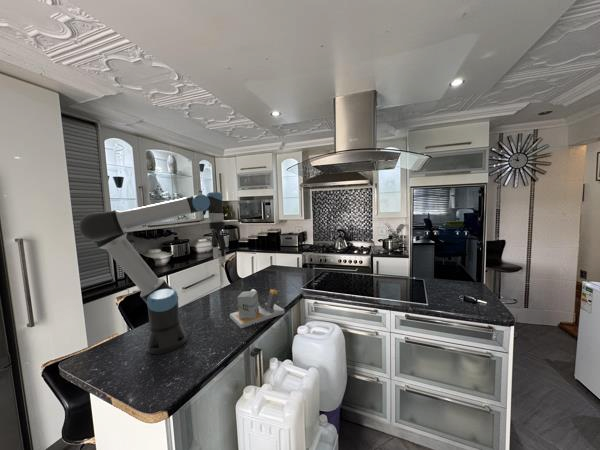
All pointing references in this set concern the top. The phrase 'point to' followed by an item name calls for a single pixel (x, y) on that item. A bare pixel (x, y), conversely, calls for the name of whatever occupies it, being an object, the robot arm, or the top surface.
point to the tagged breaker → (271, 299)
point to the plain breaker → (259, 299)
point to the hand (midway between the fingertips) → (219, 260)
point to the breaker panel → (258, 315)
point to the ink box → (248, 305)
